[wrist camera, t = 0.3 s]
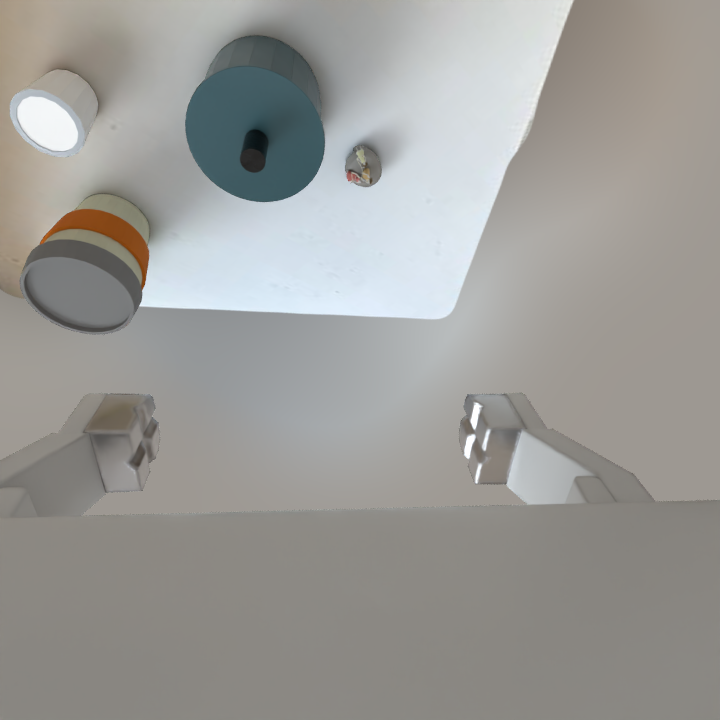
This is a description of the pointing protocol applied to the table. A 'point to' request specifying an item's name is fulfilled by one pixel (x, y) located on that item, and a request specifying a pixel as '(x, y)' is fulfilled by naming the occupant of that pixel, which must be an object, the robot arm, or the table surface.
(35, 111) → the white cylinder
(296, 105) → the pot lid
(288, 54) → the pot
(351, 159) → the figurine
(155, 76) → the table surface
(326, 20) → the table surface
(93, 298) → the reusable coffee cup
